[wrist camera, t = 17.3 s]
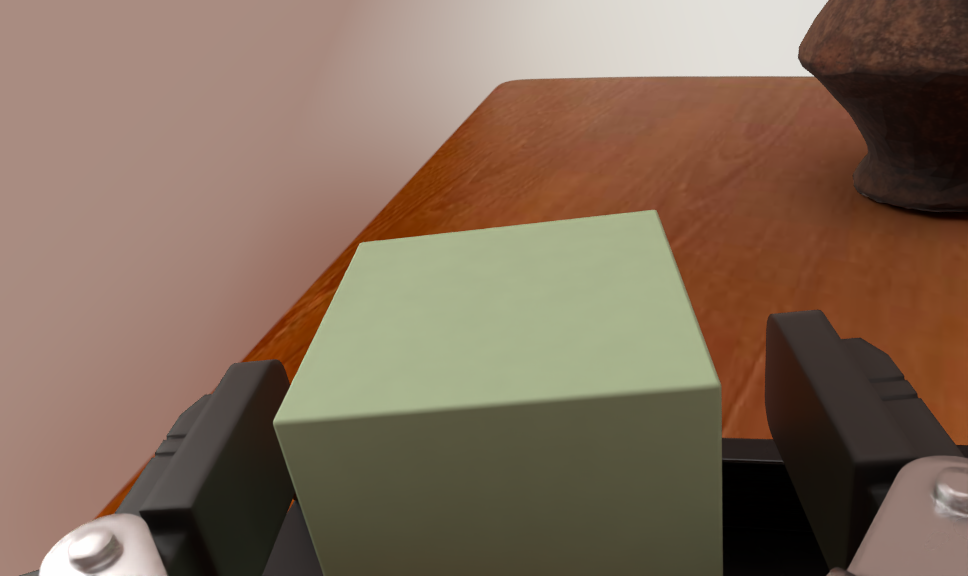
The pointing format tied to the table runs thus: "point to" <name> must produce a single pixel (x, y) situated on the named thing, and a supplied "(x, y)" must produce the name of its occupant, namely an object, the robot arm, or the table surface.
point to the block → (510, 409)
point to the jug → (900, 94)
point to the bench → (745, 521)
